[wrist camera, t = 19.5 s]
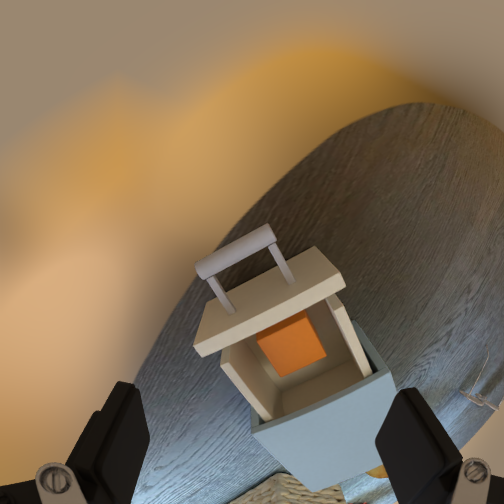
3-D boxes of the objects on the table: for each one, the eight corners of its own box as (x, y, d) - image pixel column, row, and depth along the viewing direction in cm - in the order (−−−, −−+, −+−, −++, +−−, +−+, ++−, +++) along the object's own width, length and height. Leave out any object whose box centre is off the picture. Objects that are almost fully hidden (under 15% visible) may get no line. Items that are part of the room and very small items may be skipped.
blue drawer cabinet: (249, 370, 31) (250, 434, 21) (354, 319, 29) (390, 371, 20) (302, 438, 34) (312, 492, 25) (386, 398, 32) (413, 448, 23)
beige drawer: (179, 260, 27) (155, 292, 19) (291, 199, 25) (309, 208, 18) (271, 395, 31) (276, 446, 23) (363, 351, 29) (390, 395, 22)
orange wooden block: (254, 316, 27) (256, 341, 23) (297, 295, 26) (306, 316, 22) (276, 351, 28) (280, 378, 24) (316, 331, 27) (327, 356, 23)
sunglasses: (452, 388, 33) (471, 403, 28) (479, 340, 33) (500, 350, 28) (485, 400, 35) (501, 411, 30) (508, 360, 34) (525, 369, 29)
